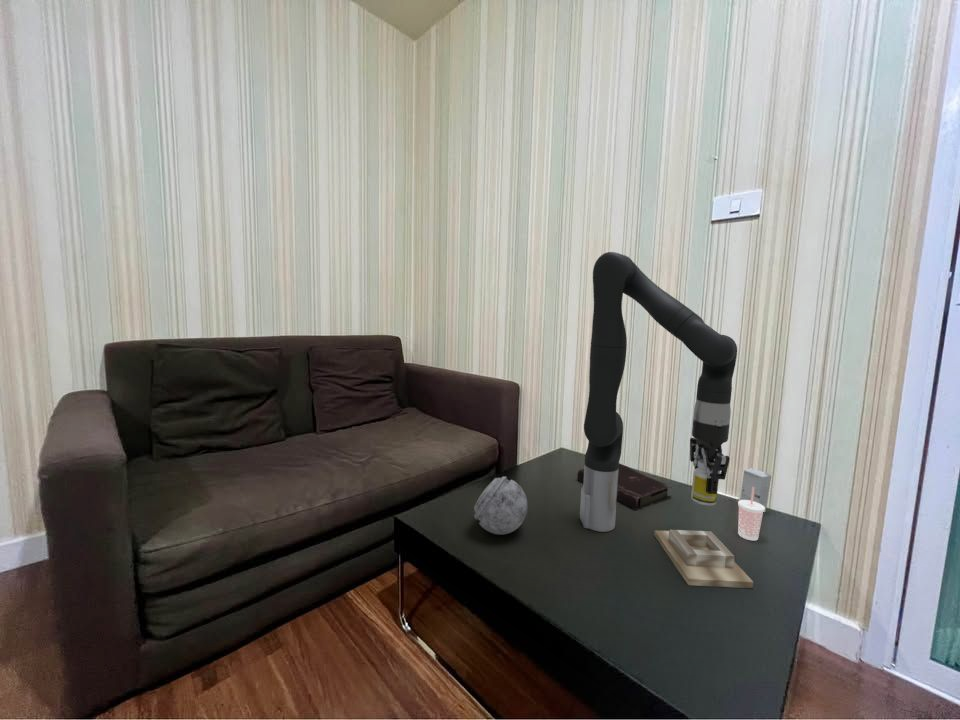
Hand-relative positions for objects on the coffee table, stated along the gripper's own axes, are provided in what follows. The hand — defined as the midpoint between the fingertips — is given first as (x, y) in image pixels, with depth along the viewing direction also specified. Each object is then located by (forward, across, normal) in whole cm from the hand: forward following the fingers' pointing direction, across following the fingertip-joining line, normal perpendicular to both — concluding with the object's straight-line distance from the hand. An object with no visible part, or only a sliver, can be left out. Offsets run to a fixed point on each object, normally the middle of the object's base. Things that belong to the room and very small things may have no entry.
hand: (704, 487), depth 98 cm
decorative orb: (+19, -9, -49) cm, 53 cm away
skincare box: (+19, -28, +30) cm, 45 cm away
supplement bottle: (+4, 0, 0) cm, 4 cm away
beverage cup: (+19, -12, +19) cm, 29 cm away
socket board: (+19, 0, 0) cm, 19 cm away
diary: (+19, -39, -7) cm, 44 cm away
